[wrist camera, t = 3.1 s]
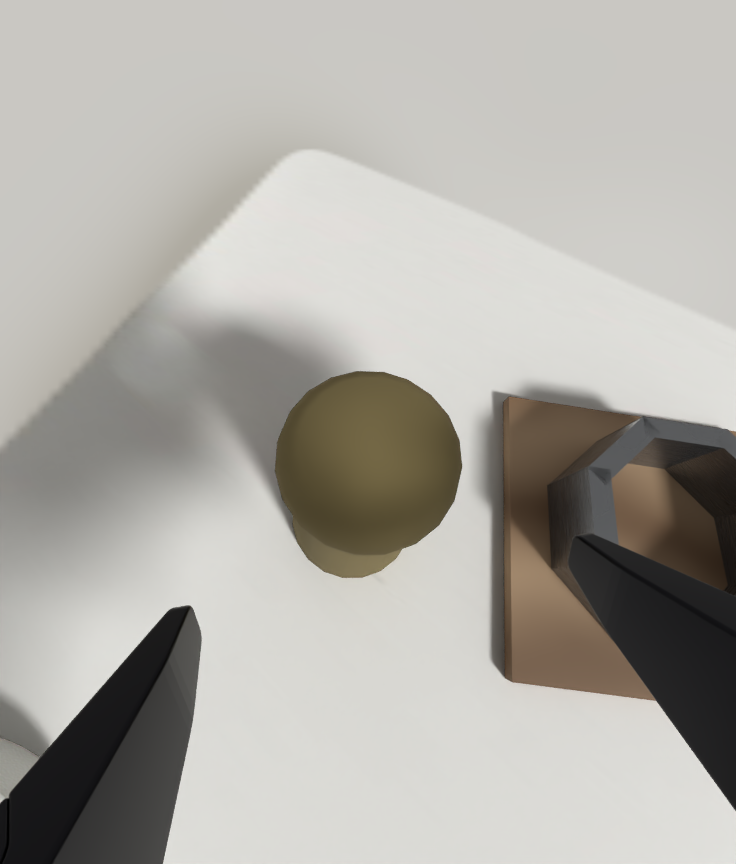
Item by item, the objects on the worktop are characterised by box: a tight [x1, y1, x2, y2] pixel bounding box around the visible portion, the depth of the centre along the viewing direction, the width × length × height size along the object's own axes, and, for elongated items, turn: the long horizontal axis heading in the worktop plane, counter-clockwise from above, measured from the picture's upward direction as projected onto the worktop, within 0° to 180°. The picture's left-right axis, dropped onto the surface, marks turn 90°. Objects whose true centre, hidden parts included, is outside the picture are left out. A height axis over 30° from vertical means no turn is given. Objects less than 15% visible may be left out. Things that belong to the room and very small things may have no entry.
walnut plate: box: [503, 397, 736, 701], centre depth 20 cm, size 14×14×1 cm
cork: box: [275, 371, 462, 578], centre depth 15 cm, size 6×6×11 cm
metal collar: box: [547, 416, 736, 639], centre depth 18 cm, size 10×10×4 cm
